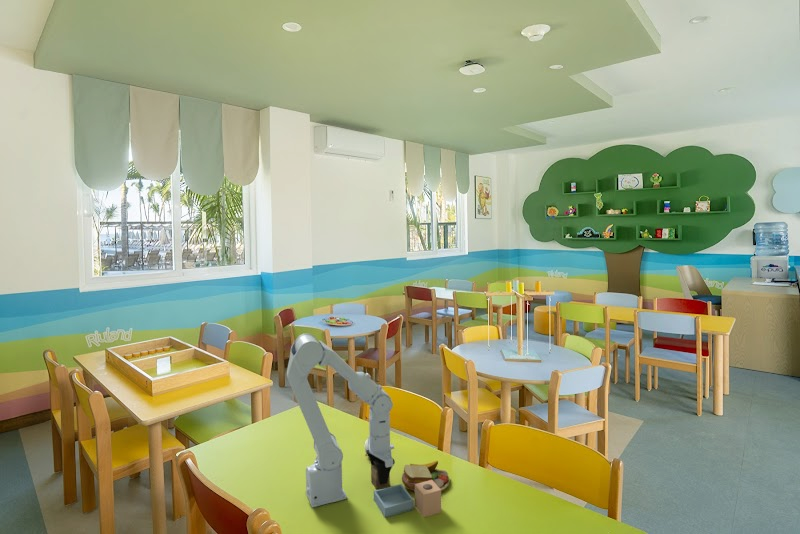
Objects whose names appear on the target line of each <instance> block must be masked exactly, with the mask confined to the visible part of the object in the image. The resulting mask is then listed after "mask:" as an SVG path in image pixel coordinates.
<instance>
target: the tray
mask: <svg viewBox="0 0 800 534" xmlns="http://www.w3.org/2000/svg"><path fill="white" fill-rule="evenodd" d="M403 485H404V484H401V483H400V484H396V485H392V486H388V487H384V488H380V489H375V490H373V502H375V505H376V506H377V508H378V509H379V511H380V512H381V514H382V516H383V518H386V519H387V518H389V517H392V516H396V515H399V514H402V513H406V512H411V511H413V510H415V499H414V498H413V497H412V495H410V493H409V492H408V491H407V489H406V488H405V486H403Z"/></svg>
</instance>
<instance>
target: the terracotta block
mask: <svg viewBox="0 0 800 534" xmlns="http://www.w3.org/2000/svg"><path fill="white" fill-rule="evenodd" d="M414 508H416V510H417V511H418V513H419V514H420V515H421V516H422V517H423V518H426V517H431V516H433V515H436V514H439V513H442V491H441V489H440V488H439V487H438V486H437V485H436V484H435V483H434V481H433V480H429V481H425V482H421V483H418V484H415V491H414Z"/></svg>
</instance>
